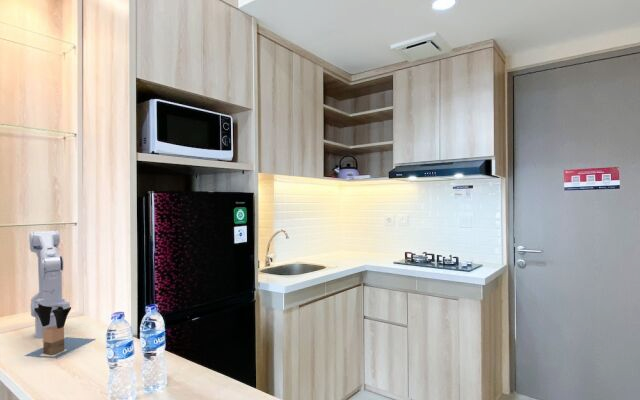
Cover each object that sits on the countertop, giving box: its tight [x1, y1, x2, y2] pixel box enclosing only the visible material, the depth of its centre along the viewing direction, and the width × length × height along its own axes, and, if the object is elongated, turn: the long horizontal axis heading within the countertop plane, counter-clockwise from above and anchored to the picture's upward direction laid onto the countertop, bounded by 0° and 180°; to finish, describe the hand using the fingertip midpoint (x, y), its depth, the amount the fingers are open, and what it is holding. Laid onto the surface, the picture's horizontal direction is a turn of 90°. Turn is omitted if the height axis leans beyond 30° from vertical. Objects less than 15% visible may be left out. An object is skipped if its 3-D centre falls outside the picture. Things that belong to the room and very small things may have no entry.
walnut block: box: [42, 339, 64, 356], centre depth 137 cm, size 4×4×4 cm
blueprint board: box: [24, 337, 96, 359], centre depth 142 cm, size 18×14×1 cm
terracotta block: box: [42, 325, 65, 343], centre depth 137 cm, size 4×4×4 cm
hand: (53, 326), depth 137 cm, fingers open, 7 cm apart
